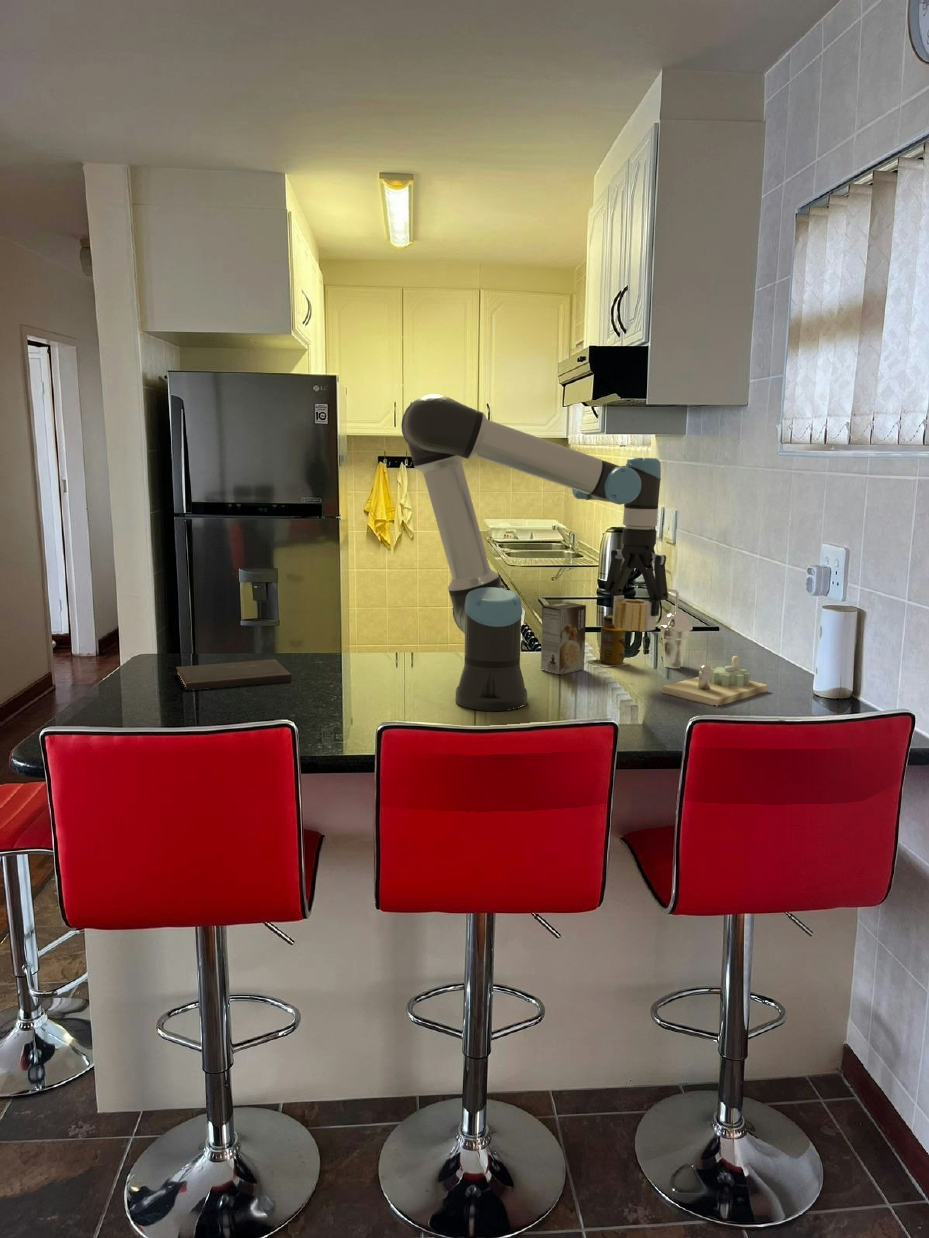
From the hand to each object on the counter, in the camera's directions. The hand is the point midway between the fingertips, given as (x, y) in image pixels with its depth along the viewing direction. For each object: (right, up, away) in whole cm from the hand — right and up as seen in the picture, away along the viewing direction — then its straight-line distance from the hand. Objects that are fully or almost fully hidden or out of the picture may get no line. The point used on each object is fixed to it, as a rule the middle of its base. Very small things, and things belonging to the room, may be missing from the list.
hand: (633, 626), depth 206 cm
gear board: (+17, -15, -5) cm, 23 cm away
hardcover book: (-92, -13, 0) cm, 92 cm away
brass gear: (0, 0, 0) cm, 0 cm away
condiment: (-2, -10, +21) cm, 24 cm away
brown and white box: (-15, -11, +13) cm, 23 cm away
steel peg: (+14, -14, -8) cm, 21 cm away
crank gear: (+21, -13, -2) cm, 25 cm away
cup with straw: (+13, -10, +19) cm, 25 cm away
